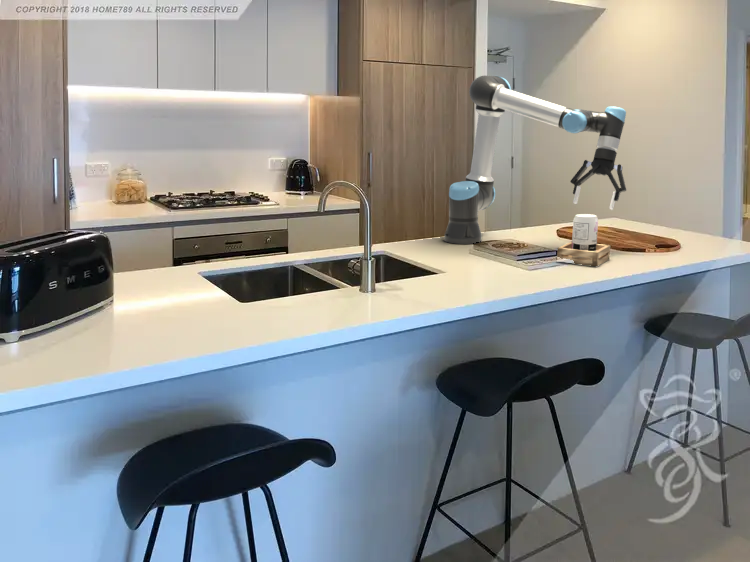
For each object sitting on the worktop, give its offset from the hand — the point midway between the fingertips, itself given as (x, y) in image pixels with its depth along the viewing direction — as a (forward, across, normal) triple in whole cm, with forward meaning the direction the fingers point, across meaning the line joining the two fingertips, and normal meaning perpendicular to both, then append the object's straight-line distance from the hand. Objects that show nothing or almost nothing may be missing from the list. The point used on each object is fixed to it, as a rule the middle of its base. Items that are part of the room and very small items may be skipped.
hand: (592, 206), depth 257 cm
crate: (+21, -5, +13) cm, 25 cm away
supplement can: (+20, -5, +13) cm, 24 cm away
